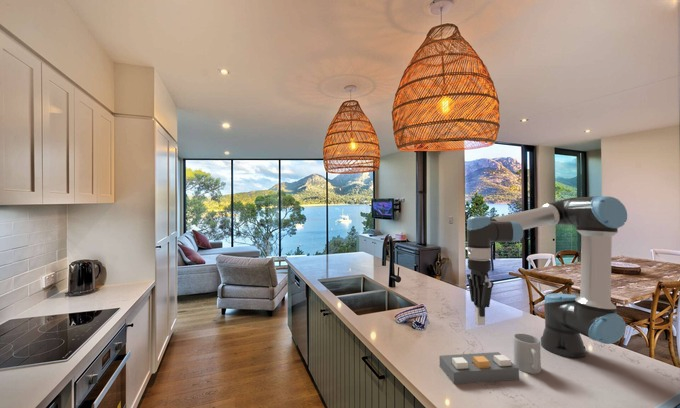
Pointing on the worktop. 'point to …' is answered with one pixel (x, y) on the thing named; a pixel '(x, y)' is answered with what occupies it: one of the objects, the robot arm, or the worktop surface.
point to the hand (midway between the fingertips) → (480, 324)
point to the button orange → (481, 362)
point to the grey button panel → (467, 372)
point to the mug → (527, 353)
